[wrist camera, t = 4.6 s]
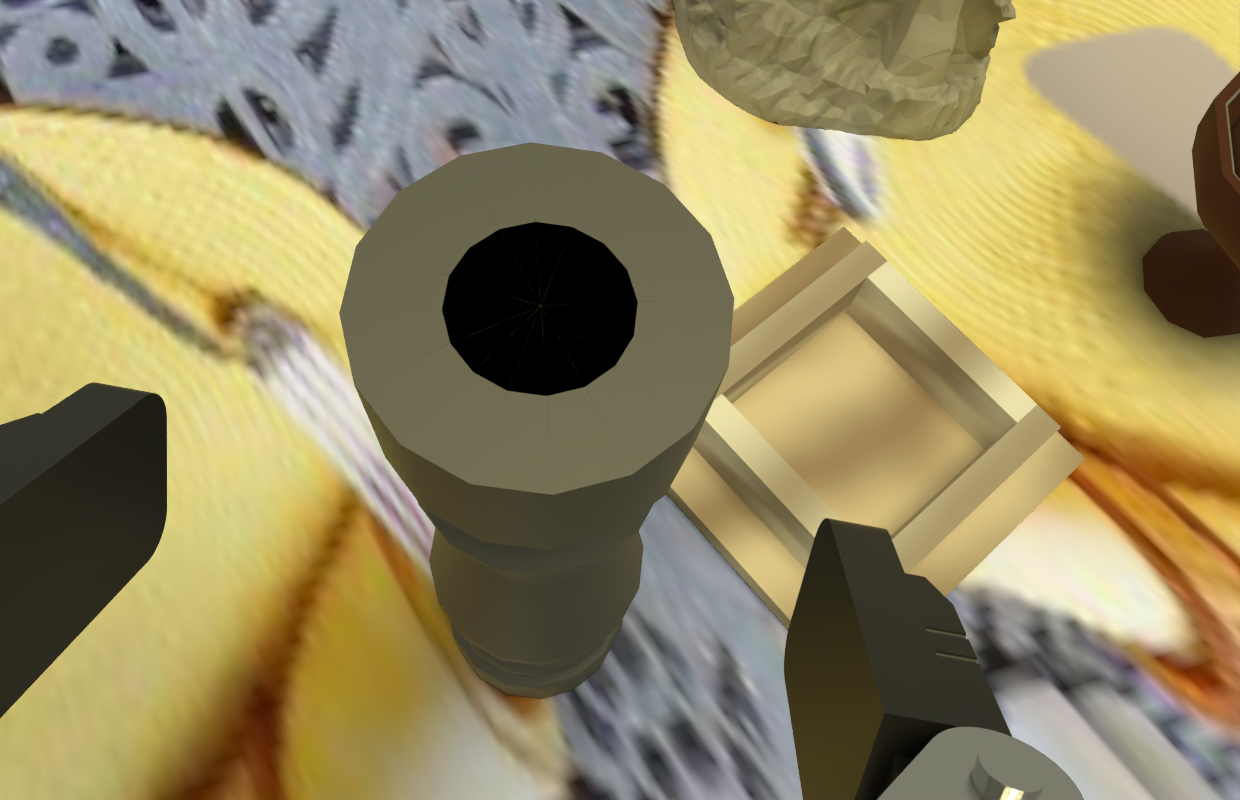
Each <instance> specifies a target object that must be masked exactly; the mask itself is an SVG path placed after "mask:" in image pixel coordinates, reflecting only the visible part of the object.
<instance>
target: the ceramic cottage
mask: <svg viewBox="0 0 1240 800" xmlns="http://www.w3.org/2000/svg"><path fill="white" fill-rule="evenodd" d="M672 1H673V5H674V8H675V20H676V27H677V31H678V34H679V37H680V40H681V43H682V45H683V48H684V49H685V50H686V56H687V59H688V61H689V63H690V64H691V66H692V67H693V69H694V70H695V72H696V73H697V74H698V76H699V77H700V78H701V79H702V80H703V81H704V82H706V83H707V84H708V85H709V86H710V87H711V88H713V89H714V90H715V91H716V92H718V93H719V94H720V95H721V96H723V97H724V98H725V99H727V100H728V101H730V102H731V103H733V104H734V105H737V106H738V107H740V108H741V109H743V110H744V111H746V112H748V113H749V114H752V115H754V116H756V117H759V118H761V119H763V120H765V121H770V122H777V123H778V124H779V125H789V126H799V127H806V128H824V129H825V130H838V131H843V132H846V133H852V134H858V135H876V136H882V137H887V138H902V139H909V140H916V141H921V140H931V139H934V138H937V137H940V136H943V135H947V134H950V133H951V134H952V133H953V131H954V130H955V131H957V130H958V128H959V127H960V126H961V125H962V124H963V123H964V122H965V121H966V120H967V119H968V118H969V117H971V115H972V114H973V112H974V110H975V108H976V106H977V105H978V104H979V103H980V99H981V93H982V89H983V85H984V82H985V79H986V71H987V68H988V64H989V61H990V55H989V52H990V50H991V48H993V47H994V46H995V42H996V38H997V35H998V31H999V25H998V23H1000V22H1003V21H1007V20H1011V19H1014V18H1016V15H1015V8H1014V7H1013V5H1012V4H1011V0H672ZM674 8H673V9H674Z"/></svg>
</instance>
